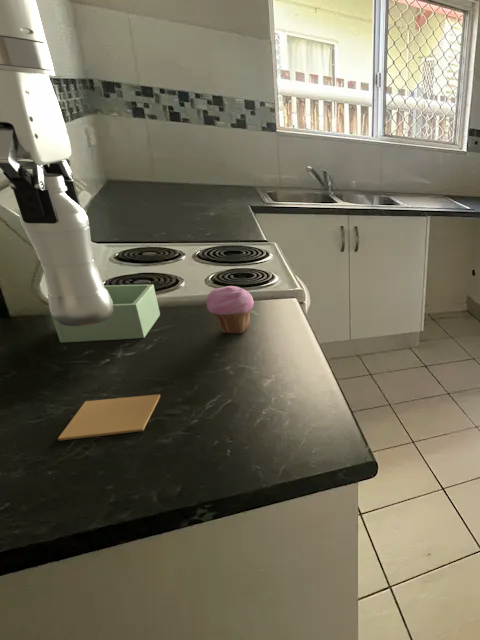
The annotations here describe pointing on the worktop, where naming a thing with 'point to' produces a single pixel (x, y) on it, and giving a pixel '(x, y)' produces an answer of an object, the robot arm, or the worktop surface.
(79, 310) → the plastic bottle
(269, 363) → the worktop surface
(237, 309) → the cupcake
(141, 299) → the bin
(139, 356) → the worktop surface
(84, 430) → the mat
